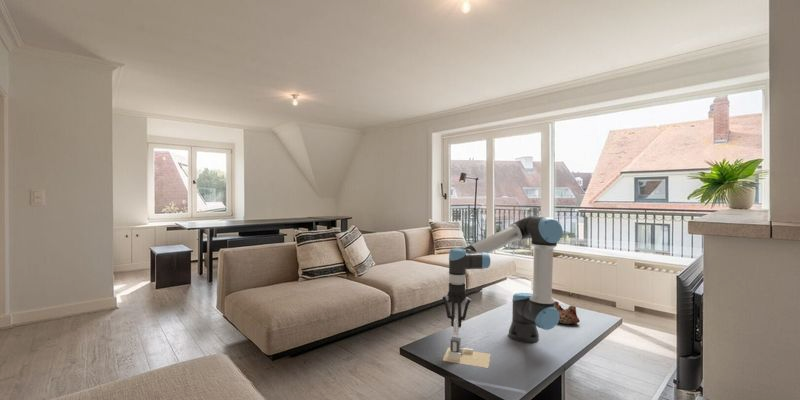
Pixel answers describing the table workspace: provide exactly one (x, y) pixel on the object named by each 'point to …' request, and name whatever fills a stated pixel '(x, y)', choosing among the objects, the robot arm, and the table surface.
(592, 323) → the table surface
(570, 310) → the coral
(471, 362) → the board
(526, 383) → the table surface
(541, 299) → the robot arm
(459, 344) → the plug
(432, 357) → the table surface
